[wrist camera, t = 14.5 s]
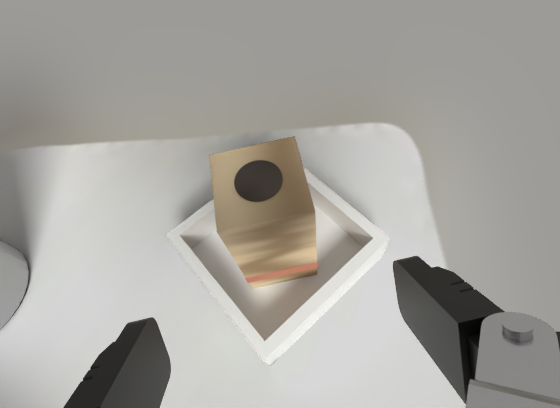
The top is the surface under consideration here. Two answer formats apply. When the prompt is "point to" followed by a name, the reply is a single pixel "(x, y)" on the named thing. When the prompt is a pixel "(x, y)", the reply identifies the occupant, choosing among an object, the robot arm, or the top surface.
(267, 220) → the oak block
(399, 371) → the top surface
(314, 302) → the white tray
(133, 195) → the top surface
